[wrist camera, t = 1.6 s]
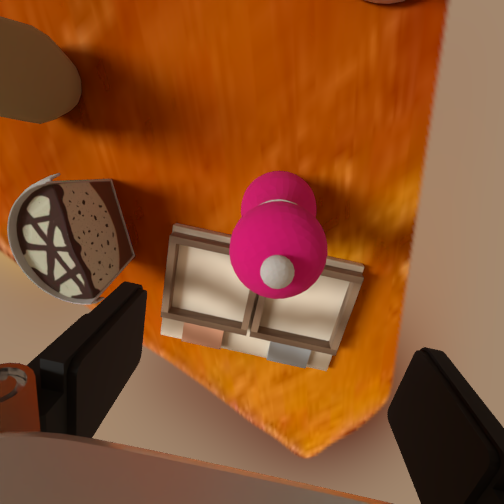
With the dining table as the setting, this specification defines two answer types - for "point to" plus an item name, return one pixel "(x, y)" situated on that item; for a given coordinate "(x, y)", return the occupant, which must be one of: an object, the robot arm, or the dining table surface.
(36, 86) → the squeeze bottle
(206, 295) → the holder board
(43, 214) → the food container
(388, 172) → the dining table surface
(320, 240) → the pepper mill
